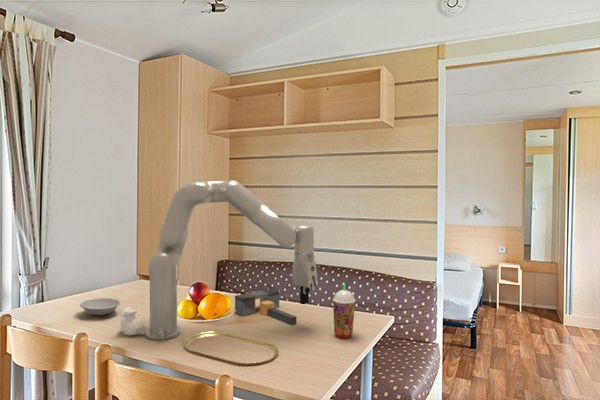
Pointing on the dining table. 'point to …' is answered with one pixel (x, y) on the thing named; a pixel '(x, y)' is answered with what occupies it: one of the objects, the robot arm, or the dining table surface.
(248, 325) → the dining table surface
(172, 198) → the robot arm
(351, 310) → the smoothie
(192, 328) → the dining table surface
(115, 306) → the dish
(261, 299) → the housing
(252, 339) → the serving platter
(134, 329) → the duck figurine
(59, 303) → the dining table surface
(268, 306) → the plug
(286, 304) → the dining table surface
